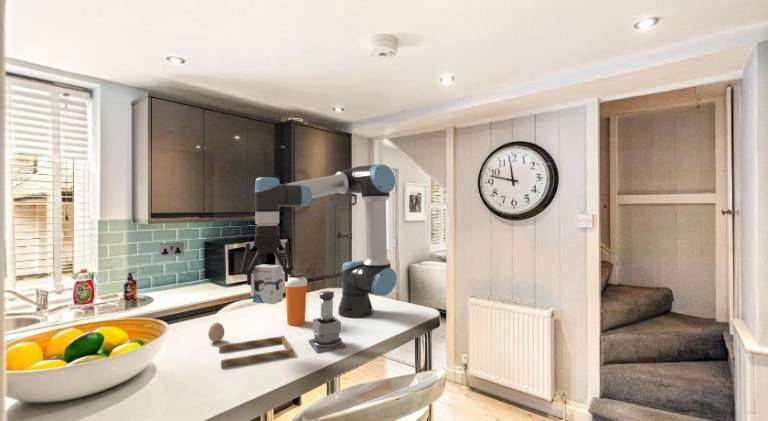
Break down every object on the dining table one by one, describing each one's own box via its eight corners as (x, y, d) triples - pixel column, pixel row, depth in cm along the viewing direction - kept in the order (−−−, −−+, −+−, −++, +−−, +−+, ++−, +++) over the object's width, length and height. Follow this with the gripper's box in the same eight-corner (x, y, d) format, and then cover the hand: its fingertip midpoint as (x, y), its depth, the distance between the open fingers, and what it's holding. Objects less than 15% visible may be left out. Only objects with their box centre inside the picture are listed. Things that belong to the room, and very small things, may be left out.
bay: (284, 341, 134) (284, 335, 134) (292, 355, 121) (292, 349, 121) (219, 351, 125) (219, 345, 125) (221, 367, 112) (221, 361, 112)
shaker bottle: (302, 327, 149) (301, 276, 149) (280, 325, 151) (280, 275, 151) (310, 320, 158) (310, 272, 158) (290, 319, 160) (290, 271, 160)
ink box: (252, 302, 124) (251, 266, 123) (261, 298, 128) (261, 264, 128) (274, 304, 121) (273, 267, 120) (283, 301, 125) (283, 265, 125)
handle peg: (331, 327, 133) (331, 290, 133) (335, 331, 129) (335, 293, 129) (318, 329, 131) (318, 292, 131) (321, 333, 127) (321, 294, 127)
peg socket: (336, 338, 137) (336, 314, 137) (345, 347, 128) (345, 322, 128) (308, 342, 132) (308, 318, 132) (316, 352, 123) (316, 326, 123)
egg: (216, 345, 130) (216, 325, 130) (205, 343, 132) (204, 323, 132) (227, 340, 135) (227, 321, 135) (216, 338, 137) (216, 319, 137)
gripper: (298, 223, 132) (298, 287, 132) (230, 225, 123) (231, 294, 123) (303, 224, 125) (303, 292, 126) (232, 226, 116) (233, 299, 116)
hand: (267, 293), depth 124 cm, fingers closed on ink box, 9 cm apart
